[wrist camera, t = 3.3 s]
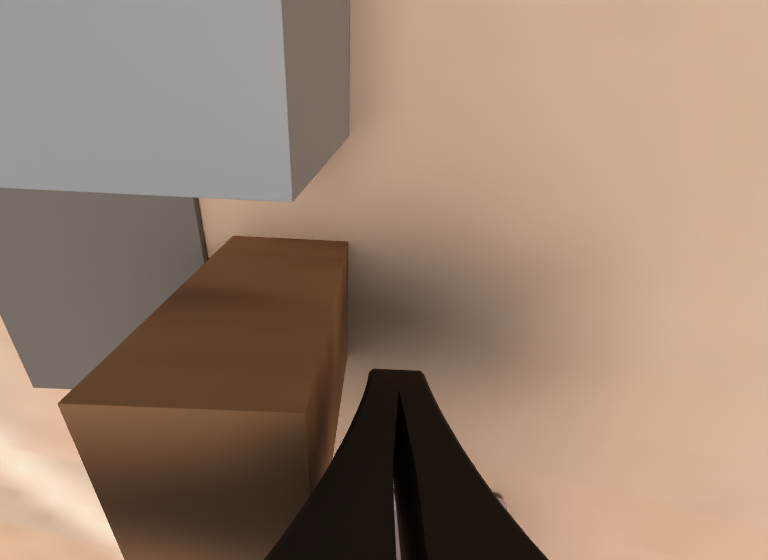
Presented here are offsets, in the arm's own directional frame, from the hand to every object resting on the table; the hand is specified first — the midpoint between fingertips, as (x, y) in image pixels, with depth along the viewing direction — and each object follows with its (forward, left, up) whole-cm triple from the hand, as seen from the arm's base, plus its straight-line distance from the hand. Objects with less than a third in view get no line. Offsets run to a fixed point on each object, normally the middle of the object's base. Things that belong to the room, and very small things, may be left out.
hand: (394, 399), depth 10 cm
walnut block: (0, +4, -5) cm, 6 cm away
